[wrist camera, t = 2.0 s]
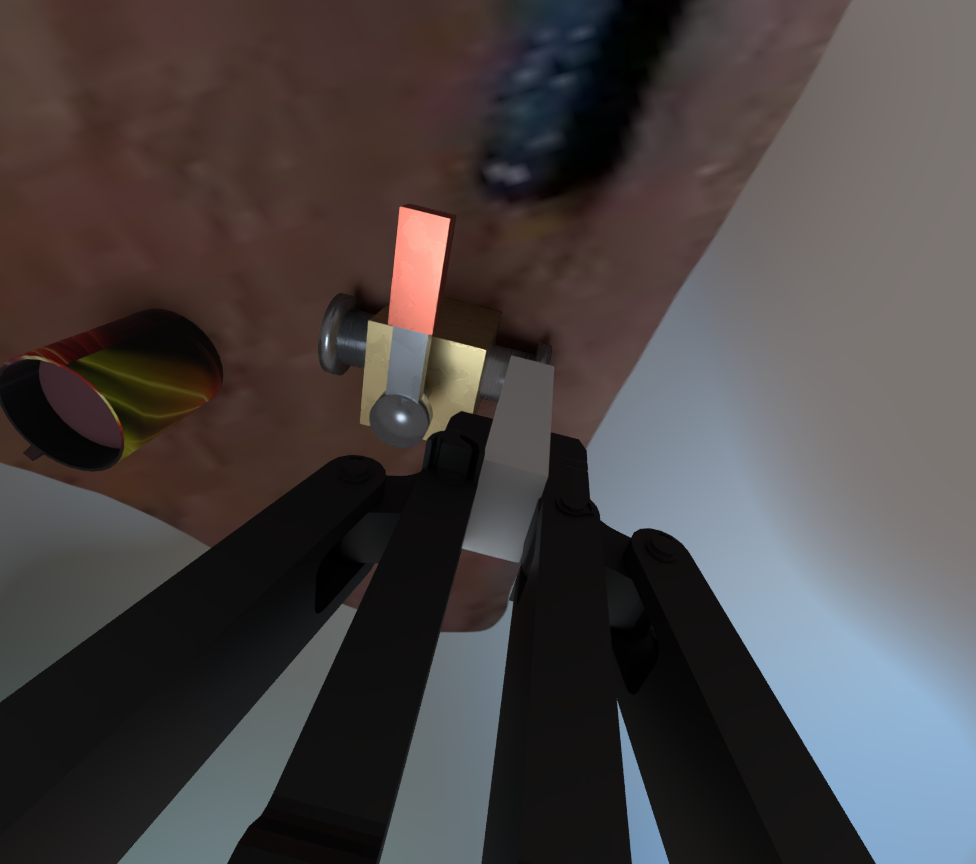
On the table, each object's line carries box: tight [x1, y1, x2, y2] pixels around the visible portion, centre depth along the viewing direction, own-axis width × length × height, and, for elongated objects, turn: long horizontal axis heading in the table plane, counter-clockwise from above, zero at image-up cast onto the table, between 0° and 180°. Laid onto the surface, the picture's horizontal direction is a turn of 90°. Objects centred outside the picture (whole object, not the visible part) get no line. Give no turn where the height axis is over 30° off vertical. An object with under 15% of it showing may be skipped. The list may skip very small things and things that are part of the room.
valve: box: [318, 293, 552, 440], centre depth 38 cm, size 17×8×9 cm, turn 78°
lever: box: [369, 204, 457, 448], centre depth 29 cm, size 14×4×5 cm, turn 168°
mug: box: [0, 309, 223, 471], centre depth 42 cm, size 10×14×12 cm
